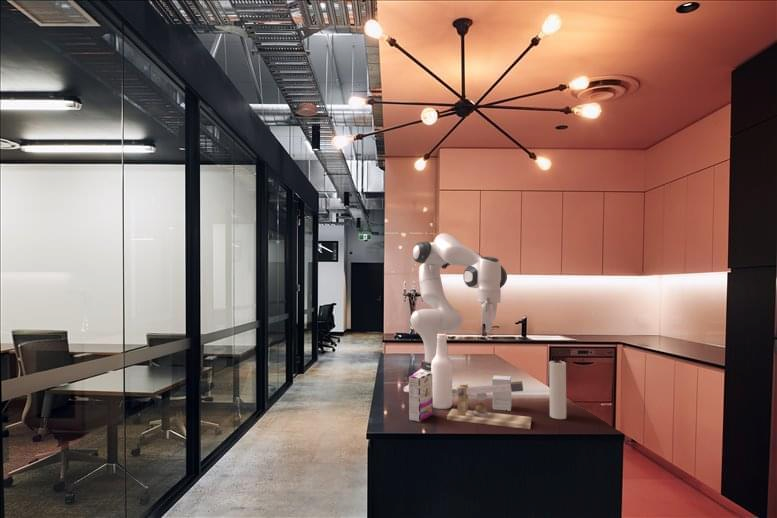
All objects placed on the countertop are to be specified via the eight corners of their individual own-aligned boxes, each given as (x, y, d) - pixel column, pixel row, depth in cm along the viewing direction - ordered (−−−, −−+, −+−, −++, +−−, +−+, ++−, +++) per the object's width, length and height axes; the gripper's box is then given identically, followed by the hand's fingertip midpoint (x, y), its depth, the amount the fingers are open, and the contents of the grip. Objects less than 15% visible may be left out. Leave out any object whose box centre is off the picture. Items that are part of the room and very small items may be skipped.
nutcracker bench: (447, 419, 170) (447, 387, 171) (452, 412, 180) (452, 382, 180) (530, 429, 160) (530, 395, 161) (531, 421, 170) (531, 388, 170)
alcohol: (454, 409, 185) (455, 335, 186) (434, 409, 183) (434, 335, 185) (448, 403, 193) (448, 332, 195) (428, 403, 192) (429, 333, 193)
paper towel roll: (557, 420, 171) (557, 363, 172) (546, 416, 176) (545, 360, 177) (572, 418, 173) (571, 362, 174) (560, 414, 179) (559, 359, 180)
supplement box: (511, 406, 189) (511, 376, 190) (510, 411, 182) (510, 379, 183) (493, 404, 192) (493, 374, 192) (492, 409, 185) (492, 378, 185)
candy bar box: (421, 412, 179) (421, 371, 180) (433, 415, 176) (433, 372, 177) (407, 420, 169) (408, 376, 170) (419, 422, 167) (419, 377, 167)
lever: (459, 401, 172) (457, 388, 173) (461, 399, 176) (459, 386, 176) (523, 397, 164) (521, 383, 165) (524, 395, 168) (522, 381, 168)
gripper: (495, 300, 168) (494, 337, 168) (499, 296, 187) (498, 329, 187) (477, 299, 170) (477, 335, 170) (483, 295, 189) (483, 328, 189)
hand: (488, 332), depth 179 cm, fingers closed
